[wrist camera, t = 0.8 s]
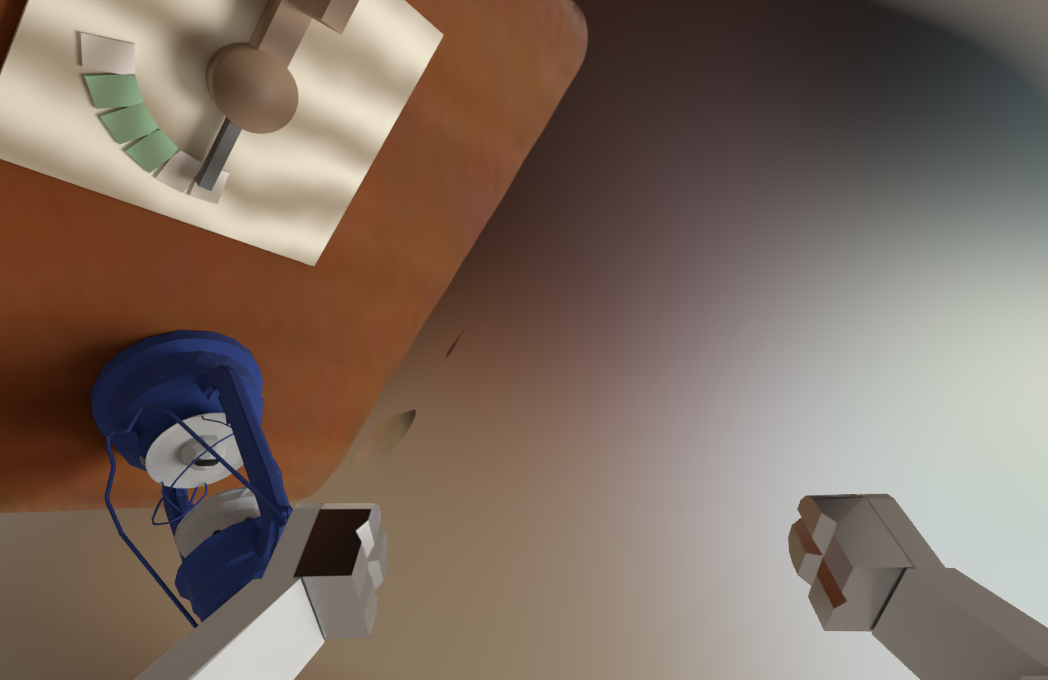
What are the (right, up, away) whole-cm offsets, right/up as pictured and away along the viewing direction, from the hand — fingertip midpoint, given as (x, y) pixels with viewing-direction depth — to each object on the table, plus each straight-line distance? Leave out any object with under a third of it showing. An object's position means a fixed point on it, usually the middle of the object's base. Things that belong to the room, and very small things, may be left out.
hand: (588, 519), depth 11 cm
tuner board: (-24, +25, +35) cm, 49 cm away
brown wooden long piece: (-22, +26, +33) cm, 48 cm away
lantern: (-37, -2, +47) cm, 60 cm away
